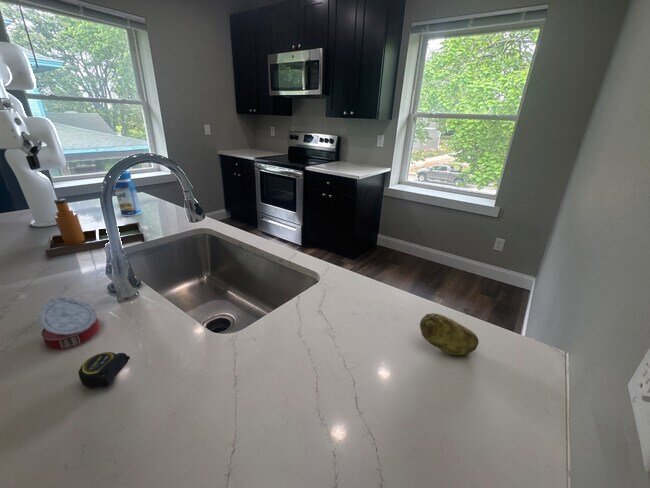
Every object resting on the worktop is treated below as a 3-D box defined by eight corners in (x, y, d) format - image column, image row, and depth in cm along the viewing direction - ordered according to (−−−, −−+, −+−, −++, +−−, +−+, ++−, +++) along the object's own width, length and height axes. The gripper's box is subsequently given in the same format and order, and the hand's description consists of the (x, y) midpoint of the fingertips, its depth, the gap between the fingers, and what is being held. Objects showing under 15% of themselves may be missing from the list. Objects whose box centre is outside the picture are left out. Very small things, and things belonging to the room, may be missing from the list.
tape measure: (109, 393, 56) (103, 378, 54) (73, 390, 56) (67, 376, 54) (132, 364, 62) (128, 350, 60) (100, 362, 62) (95, 348, 61)
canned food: (90, 334, 76) (102, 297, 76) (97, 353, 69) (110, 312, 69) (29, 335, 67) (41, 294, 67) (30, 357, 60) (44, 310, 60)
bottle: (66, 244, 109) (49, 198, 102) (86, 241, 112) (71, 196, 105) (65, 251, 105) (47, 203, 97) (86, 247, 108) (70, 200, 101)
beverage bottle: (145, 213, 143) (135, 171, 135) (127, 218, 137) (115, 174, 128) (136, 209, 147) (125, 169, 139) (117, 214, 141) (105, 171, 132)
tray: (52, 245, 110) (49, 236, 108) (140, 230, 125) (138, 222, 124) (49, 259, 100) (45, 250, 98) (145, 241, 115) (143, 233, 114)
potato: (474, 370, 63) (484, 342, 60) (413, 349, 69) (419, 321, 65) (475, 345, 70) (484, 318, 67) (420, 327, 75) (426, 301, 72)
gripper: (37, 106, 86) (58, 166, 93) (-33, 104, 83) (-6, 166, 91) (17, 107, 79) (41, 171, 87) (-59, 104, 77) (-28, 171, 84)
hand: (17, 168), depth 89 cm, fingers open, 9 cm apart
